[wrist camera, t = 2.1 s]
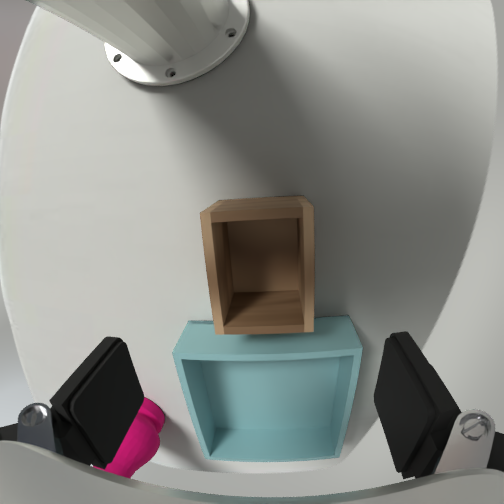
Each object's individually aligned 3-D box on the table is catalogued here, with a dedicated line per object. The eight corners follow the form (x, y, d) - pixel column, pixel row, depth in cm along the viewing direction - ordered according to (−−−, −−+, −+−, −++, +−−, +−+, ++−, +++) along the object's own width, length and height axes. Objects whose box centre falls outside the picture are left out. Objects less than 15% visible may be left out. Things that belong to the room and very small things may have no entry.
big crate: (188, 320, 25) (172, 352, 21) (348, 315, 24) (362, 347, 19) (212, 426, 30) (205, 458, 25) (333, 424, 28) (339, 457, 24)
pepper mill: (176, 409, 29) (122, 556, 10) (160, 435, 31) (114, 557, 12) (120, 380, 29) (41, 514, 10) (112, 410, 31) (49, 524, 12)
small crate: (218, 200, 22) (199, 212, 16) (303, 195, 22) (313, 206, 16) (228, 296, 24) (215, 334, 19) (305, 293, 24) (313, 331, 18)
